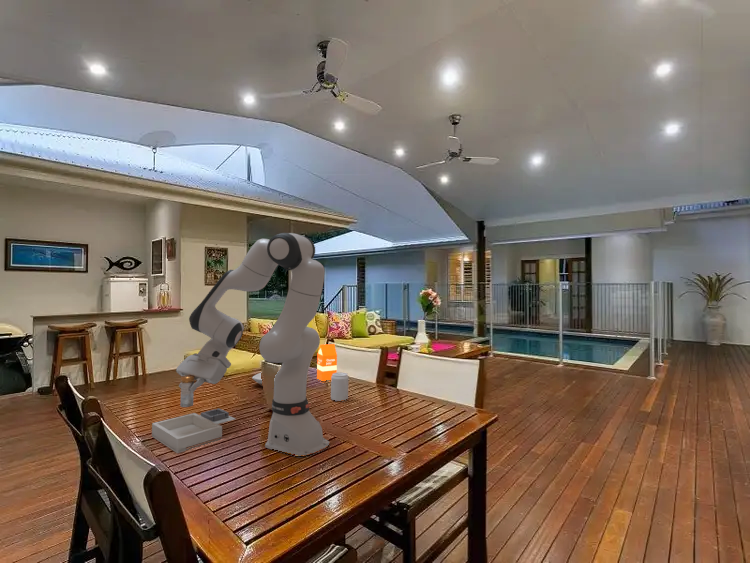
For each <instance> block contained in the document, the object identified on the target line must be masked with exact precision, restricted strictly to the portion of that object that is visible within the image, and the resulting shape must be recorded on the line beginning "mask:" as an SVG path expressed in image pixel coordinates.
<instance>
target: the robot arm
mask: <svg viewBox="0 0 750 563" xmlns="http://www.w3.org/2000/svg"><path fill="white" fill-rule="evenodd" d="M315 255H316V246H315V244H314V242H313V241H312V240H311V238H309V237H307V236H305V235H301V234H298V233H294V232H280V233H277V234H275V235H273V236H272V237H271V238H270V239H268V238H260V239H257V240H256V241H255V242H254V243H253V244H252V246H251V247H250V249H249V250H248V251H247V253H246V255H245V256H244V258H243V260H242V261H241V263H240V265H239V266H237V268H235V269H229V270H227V271H226V272H225V273H224V274H223V275H221V277H220V278H219V279H218V280H217V282H216V283H215V284H214V286H213V287H211V289H210V291H209V292H208V293H207V295H206V296H205V297H204V298H203V300H202V301H201V302H200V303H199V304H198V305H197V306H196V308H194V310H193V311H192V312H191V313H190V315H189V317H188V321H189V324H190V328H191V330H194V331H196V332H198V333H201V334H203V335H204V336H207V337H209V338H210V339H209V340H208V341H207V342H206V343H204V345H203V346H202V348H200V350H199V351H198V353H193V354H190V355H188V356H187V357H186V358H184V359H183V361H181V363H180V364H179V365H178V366H177V367H176V370H175V372H176V373H177V374H178V375H180V376H181V377H182V376H186V375H192V376H194V380H195V381H194V384H191V385H190V387H189V390H190V391H193V392H195V391H196V390H197V388H199V387H200V386H202V385H203V384H204V383H208V384H212V385H216V384H218V383H219V382H220V381H221V380H222V378H223V377H224V376H225V374H226V373H227V369H229V368H230V367H231V366H232V362H230V360H229V359H228V358H227V356H228V354H229V352H230V351H231V350H232V349H233V348H234V347H235V346H236V345H237V344H238V343H239V342H240V340H241V338H242V337H243V334H244V333H243V332H244V329H245V327H244V324H243V323H242V321H240V320H239V319H238V318H235V317H231V316H230V315H227V314H225V313H223V312H222V311H221V310H218V309H217V308H216V305H217V304H218V302H219V301H220V300H221V298H223V296H224V295H225V293H226V292H227V291H228V290H234V291H235V290H236V291H241V292H249V293H250V292H258V291H260V290H263V289H264V288H265V287H266V286H267V284H268V283H269V281H270V280H271V278H272V277H273V274H274V272H275V270H276V268H277V267H278V266H280V267H281V268H283V269H284V270H286V271H291V280H290V284H289V288H288V291H287V295H286V299H285V302H284V305H283V308H282V310H281V313H280V314H279V316H278V318H277V319H276V322H275V323H274V324H273V326H272V327H271V328H270V330H269V331H268V332H266V334H264V335H263V336H262V337H261V339H260V341H259V353H260V355H261V358H263V360H264V361H266V362H268V363H279V364H280V363H281V366H280V368H279V371H278V372H277V374H276V375H275V378H274V388H273V398H272V400H271V401H272V403H271V411H272V415H271V418H270V420H269V427H268V435H267V441H266V442H265V444H264V447H265V448H267V449H268V450H272V449H274V450H273V451H275V450H278V451H277V452H279V451H282V452H287V453H291V454H295V455H298V456H301V455H307V454H310V453H314V452H316V451H319V450H320V449H323V448H325V447H326V446H328V445H329V443H330V441H329V440H327V439H326V438H325V437H324V436H323V428H322V425H321V423H320V421H319V420H317V419H316V418H315V416H314V415H313V414H312V413H311V411H310V408H311V407H312V403H309V401H308V397H307V380H308V373H309V370H310V365H311V362H312V359H313V357H314V355H315V353H316V351H317V350H318V349H319V348H320V345H321V344H320V343H321V338H320V334H319V333H318V331H317V330H316V329H314V328H313V327H310V326H308V325H309V323H311V322H312V321H313V320H314V318H315V316H316V314H317V311H318V308H319V303H320V299H321V297H322V292H323V287H324V281H325V271H326V270H325V267H324V265H323V264H322V263H321V262H320V261H318V260H316V259H314V257H315ZM178 387H179V388H180V389H181V382H180V383H179V384H178ZM330 444H331V443H330ZM329 446H330V445H329ZM282 452H281V453H282Z"/></svg>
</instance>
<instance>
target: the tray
mask: <svg viewBox="0 0 750 563" xmlns="http://www.w3.org/2000/svg"><path fill="white" fill-rule="evenodd" d="M200 415H201V414H198V413H195V412H193V413H189V414H183V415H180V416H177V417H173V418H168V419H165V420H160V421H157V422H152V423H151V437H153V439H155V440H156V441H158V442H159V443H161V444H163V446H166V447H167V448H169V449H170V450H172V451H173V452H174V453H176V454H180V453H183V452H186V450H187V451H189V449H190V450H193V449H195V447H196V448H199V447H202V446H201V445H203V446H205V444H206V445H208V443H209V444H212V443H214V442H215V443H216V442H218V441H221V439H222V440H223V438H222V437H223V425H220V424H216V423H214V422H212V421H210V420H208V419H206V418H204V417H202V416H200ZM211 442H212V443H211ZM192 448H193V449H192Z"/></svg>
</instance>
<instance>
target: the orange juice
mask: <svg viewBox="0 0 750 563" xmlns="http://www.w3.org/2000/svg"><path fill="white" fill-rule="evenodd" d="M316 355H317V357H316V358H317V362H316V380H317V379H319V380H321V381H326V380H331V377H332V374H333V373H338V368H337V367H338V354H337V349H336V345H335V343H329V344H319V347H318V352H317V354H316ZM319 380H318V381H319ZM321 381H320V382H321Z"/></svg>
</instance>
